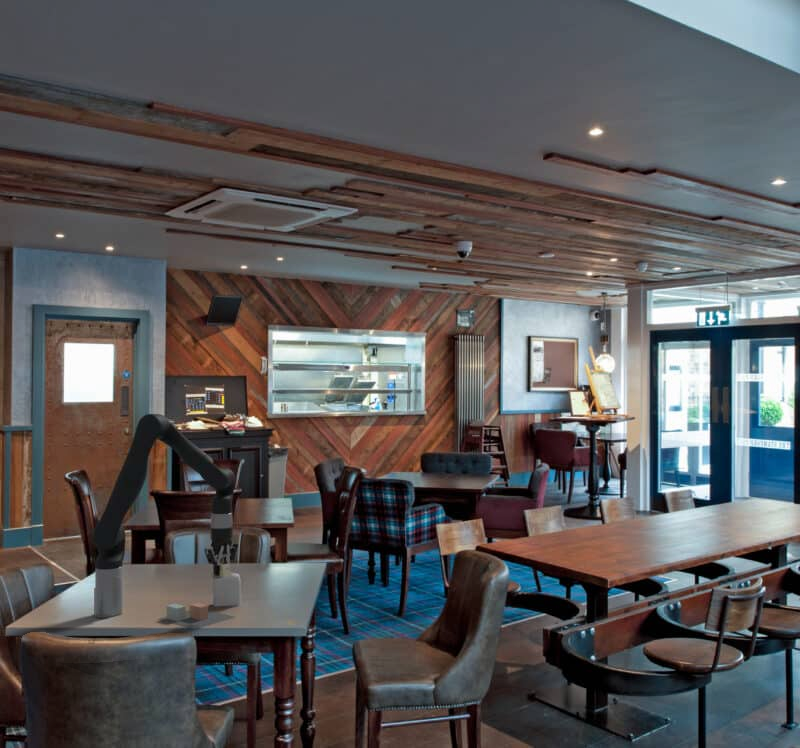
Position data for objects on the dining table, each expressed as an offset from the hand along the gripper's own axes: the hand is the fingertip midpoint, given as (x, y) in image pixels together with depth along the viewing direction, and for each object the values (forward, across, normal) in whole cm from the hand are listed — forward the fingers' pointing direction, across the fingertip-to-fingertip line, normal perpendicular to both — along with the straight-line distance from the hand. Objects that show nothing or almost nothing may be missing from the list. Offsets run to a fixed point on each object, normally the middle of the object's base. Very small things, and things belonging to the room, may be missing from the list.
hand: (221, 574), depth 280 cm
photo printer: (+16, -12, -11) cm, 23 cm away
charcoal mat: (+16, +6, -6) cm, 18 cm away
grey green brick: (+15, +11, -11) cm, 22 cm away
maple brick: (+1, 0, +1) cm, 1 cm away
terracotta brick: (+15, +5, -5) cm, 17 cm away
